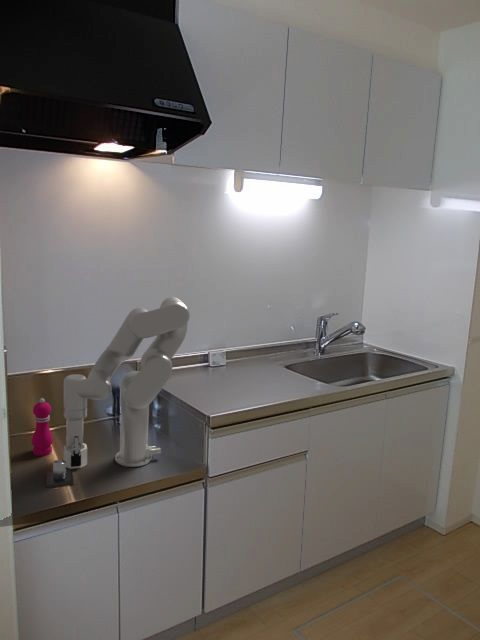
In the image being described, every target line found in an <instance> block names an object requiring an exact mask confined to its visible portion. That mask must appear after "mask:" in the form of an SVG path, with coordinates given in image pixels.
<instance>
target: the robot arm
mask: <svg viewBox="0 0 480 640" xmlns="http://www.w3.org/2000/svg"><path fill="white" fill-rule="evenodd" d="M190 315H191V314H190V310H189V309H188V307H187V305H186V304H185V303H184V302H183V301H182V300H180V299H179V298H177V297H175V296H169V297H166V298H165V299H164V300H162V302H161V303H160V307H159V308H155V309H152V310H147V309H146V308H143V307H135V308H133V309H132V310H131V311H130V312H129V313H128V315H126V317H125V319H124V321H123V322H122V324H121V326H120V328H119V329H118V331H117V332H116V334H115V336H114V337H113V338H112V340H111V341H110V342H109V345H108V346H107V347H106V348H105V350H103V352H102V353H101V354H100V355H99V357H98V358H97V361H96V362H95V364H94V365H93V367H92V368H91V369H90V372H89V373H88V375H87V377H86V376H85V375H83V374H77V373H76V374H75V373H74V374H69V375H66V377H64V380H63V418H64V419H66V424H65V425H66V426H65V427H66V429H65V430H66V431H65V432H66V433H65V434H66V435H65V441H66V445H67V447H68V448H72V455H71V467H75V466H81V454H80V447H82V444H83V443H84V441H83V440H84V419H85V418H87V417H88V399H89V400H95V401H99V400H105V399H107V398H108V397H109V396H110V395H111V393H112V384H111V379H112V378H113V376H114V375H115V373H116V372H117V370H118V368H119V367H120V366H121V364H123V363H124V362H125V361H128V360H129V359H131V358H132V357H133V356H134V355H135V353H136V351H137V350H138V348H139V347H140V345H141V343H142V342H143V340H144V339H149V338H152V337H155V339H154V340H152V342H151V344H149V346H148V348H147V349H146V350H145V351H144V353H143V354H142V355H141V357H140V364H141V368H140V370H139V371H138V370H133V371H132V370H131V371H128V372H126V374H125V375H124V376H123V378H122V379H121V382H120V386H119V387H120V389H119V390H120V391H119V392H120V421H119V422H120V423H119V424H120V427H119V428H120V432H119V434H120V436H119V451H118V452H117V453H116V454H115V456H114V461H115V462H116V463H117V464H118V465H121V466H123V467H128V468H129V467H130V468H135V467H142V466H145V465H147V464H149V463H150V462H151V461H152V459H153V458H152V457H153V455H154V454H155V455H157V454H162V449H161V447H157V445H153V446H150V445H149V417H150V415H149V414H150V413H149V412H150V404H151V403H152V402H153V401H154V400H155V398H156V397H157V395H158V394H159V393H160V391H161V390H162V389H163V387H164V386H165V385H166V383H168V380H169V379H170V378H171V376H172V372H173V363H172V362H173V361H172V358H174V356H175V354H177V352H178V350H179V349H180V347H181V346H182V344H183V343H184V341H185V338H186V335H187V331H188V322H189V320H190V317H191V316H190ZM73 445H75V446H73ZM73 448H75V450H74V451H73Z"/></svg>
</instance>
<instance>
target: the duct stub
mask: <svg viewBox="0 0 480 640" xmlns="http://www.w3.org/2000/svg"><path fill="white" fill-rule="evenodd" d="M52 468H53V469H52V471H45V477H46V478H45V479H46V480H45V481H46V482H45V483H46V484H45V485H46V488H52V487H53V488H54V487H62V486H63V487H64V486H72V485H73V486H74V475H73V470H72V469H69V470H67V467H66V461H64V459H57V460H54V461H53V465H52Z"/></svg>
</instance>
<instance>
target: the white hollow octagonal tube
mask: <svg viewBox="0 0 480 640" xmlns="http://www.w3.org/2000/svg"><path fill="white" fill-rule="evenodd" d="M73 446H75V445H73ZM74 450H75V448H73V451H74ZM80 454H81V466H75V467H71V455H72V448H68V447H67V444H64V446H63V460H64V461H66V469H69V470H72V469H81V468H83V467H85V466H87V464H88V446H87V444H86V443H84V442H83V444H82V447H80Z"/></svg>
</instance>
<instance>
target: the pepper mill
mask: <svg viewBox="0 0 480 640" xmlns="http://www.w3.org/2000/svg"><path fill="white" fill-rule="evenodd" d="M32 408H33V409H32V414H33V415H34V421H35V429H34V432H33V434H32V436H31V441H30V443H31V445H32V446H33V447H32V453H33V455H34V456H37V457H38V456H39V457H43V456H44V457H45V456H48V455H50V454H51V453H52V452H53V446H52V445H53V443H54V436H53V434H52V431H51V429H50V426H49V421H50V419H51V418H50V414H51V412H52V406H51V405H50V403H49V402H46V400H45V398H44V397H41V398H39V401H38V402H37V403H36V404H34V406H33V407H32Z"/></svg>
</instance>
